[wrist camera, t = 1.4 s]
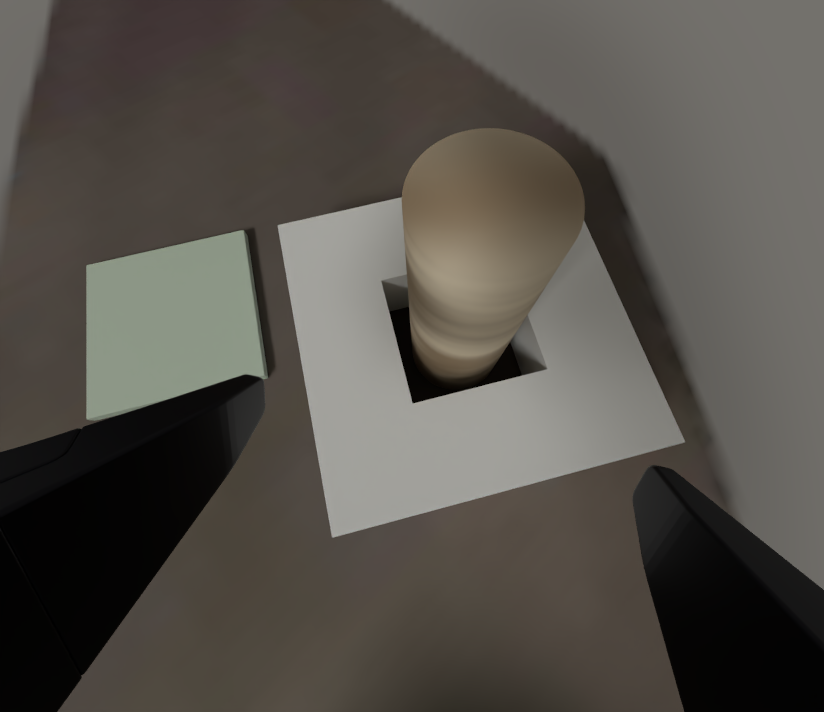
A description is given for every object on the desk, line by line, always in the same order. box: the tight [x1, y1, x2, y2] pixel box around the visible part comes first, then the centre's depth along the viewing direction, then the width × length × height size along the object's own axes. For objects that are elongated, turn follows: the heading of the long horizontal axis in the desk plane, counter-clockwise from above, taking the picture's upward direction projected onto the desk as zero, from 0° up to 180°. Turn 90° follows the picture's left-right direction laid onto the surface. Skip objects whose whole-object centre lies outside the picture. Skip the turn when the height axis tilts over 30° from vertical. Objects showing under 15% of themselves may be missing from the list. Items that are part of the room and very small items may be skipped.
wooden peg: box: [402, 128, 585, 390], centre depth 17 cm, size 5×5×13 cm
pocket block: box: [278, 197, 685, 538], centre depth 21 cm, size 16×16×4 cm
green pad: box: [87, 230, 268, 421], centre depth 24 cm, size 10×10×1 cm
